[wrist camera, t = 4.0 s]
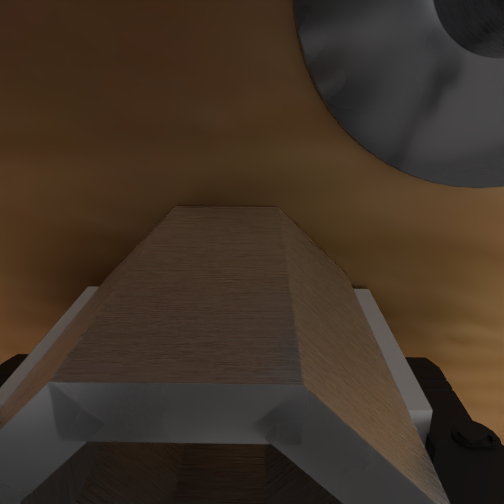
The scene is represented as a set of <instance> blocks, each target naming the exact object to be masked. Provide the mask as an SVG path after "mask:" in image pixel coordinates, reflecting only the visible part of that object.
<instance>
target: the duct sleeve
mask: <svg viewBox="0 0 504 504" xmlns="http://www.w3.org/2000/svg"><path fill="white" fill-rule="evenodd" d="M0 504H450V502H449V500H448V498H447V495H446V493H445V491H444V489H443V487H442V484H441V482H440V480H439V478H438V476H437V473H436V471H435V469H434V467H433V464H432V462H431V460H430V458H429V456H428V453H427V451H426V449H425V447H424V445H423V442H422V440H421V438H420V436H419V433H418V431H417V429H416V427H415V425H414V422H413V420H412V418H411V416H410V414H409V411H408V409H407V407H406V405H405V402H404V400H403V398H402V396H401V394H400V391H399V389H398V387H397V385H396V383H395V380H394V378H393V376H392V374H391V371H390V369H389V367H388V365H387V363H386V360H385V358H384V356H383V354H382V352H381V349H380V347H379V345H378V343H377V340H376V338H375V336H374V334H373V332H372V329H371V327H370V325H369V323H368V321H367V318H366V316H365V314H364V312H363V309H362V307H361V305H360V303H359V301H358V298H357V296H356V294H355V292H354V290H353V287H352V285H351V283H350V281H349V278H348V276H347V275H346V274H345V273H344V272H343V271H342V270H341V269H340V268H339V267H338V266H337V265H336V264H335V263H334V262H333V261H332V260H331V259H330V258H329V257H328V256H327V255H326V254H325V253H324V252H323V251H322V250H321V249H320V248H319V247H318V246H317V245H316V244H315V243H314V242H313V241H312V240H311V239H310V238H309V237H308V236H307V235H306V234H305V233H304V232H303V231H302V230H301V229H300V228H299V227H298V226H297V225H296V224H295V223H294V222H293V221H292V220H291V219H290V218H289V217H288V216H287V215H286V214H285V213H284V212H283V211H282V210H281V209H280V208H279V207H249V206H175V207H174V208H173V209H172V210H171V211H170V212H169V213H168V214H167V216H166V217H165V218H164V219H163V220H162V221H161V222H160V223H159V224H158V225H157V226H156V227H155V228H154V229H153V230H152V231H151V232H150V233H149V234H148V235H147V236H146V237H145V238H144V239H143V240H142V241H141V242H140V243H139V244H138V245H137V246H136V247H135V248H134V249H133V250H132V251H131V253H130V254H129V255H128V256H127V257H126V258H125V259H124V260H123V261H122V262H121V263H120V264H119V265H118V266H117V267H116V268H115V269H114V270H113V271H112V272H111V273H110V274H109V275H108V277H107V278H106V279H105V280H104V281H103V283H102V284H101V285H100V286H99V288H98V289H97V290H96V291H95V293H94V294H93V295H92V296H91V297H90V299H89V300H88V301H87V302H86V304H85V305H84V306H83V307H82V309H81V310H80V311H79V312H78V313H77V315H76V316H75V317H74V318H73V320H72V321H71V322H70V323H69V325H68V326H67V327H66V328H65V329H64V331H63V332H62V333H61V334H60V336H59V337H58V338H57V339H56V341H55V342H54V343H53V344H52V345H51V347H50V348H49V349H48V350H47V352H46V353H45V354H44V355H43V357H42V358H41V359H40V360H39V361H38V363H37V364H36V365H35V366H34V368H33V369H32V370H31V371H30V373H29V374H28V375H27V376H26V378H25V379H24V380H23V381H22V382H21V384H20V385H19V386H18V387H17V389H16V390H15V391H14V392H13V394H12V395H11V396H10V397H9V398H8V400H7V401H6V402H5V403H4V405H3V406H2V407H1V408H0Z"/></svg>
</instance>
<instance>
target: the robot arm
mask: <svg viewBox="0 0 504 504" xmlns="http://www.w3.org/2000/svg"><path fill="white" fill-rule="evenodd" d="M98 288H99V287H89V286H88V287H87V288H86V290H85V291H84V292H83V293H82V294H81V295H80V297H79V298H78V299H77V300H76V301H75V302H74V303H73V305H72V306H71V307H70V308H69V309H68V310H67V312H66V313H65V314H64V315H63V316H62V317H61V318H60V320H59V321H58V322H57V323H56V324H55V325H54V327H53V328H52V329H51V330H50V331H49V332H48V333H47V335H46V336H45V337H44V338H43V339H42V340H41V341H40V343H39V344H38V345H37V346H36V347H35V348H34V350H33V351H32V352H31V353H30V354H17V355H15V356H14V357H12V358H10V359H9V360H7V361H5V362H4V363H2V364H1V365H0V408H1V407H2V406H3V405H4V403H5V402H6V401H7V400H8V398H9V397H10V396H11V395H12V394H13V392H14V391H15V390H16V389H17V387H18V386H19V385H20V384H21V382H22V381H23V380H24V379H25V378H26V376H27V375H28V374H29V373H30V371H31V370H32V369H33V368H34V366H35V365H36V364H37V363H38V361H39V360H40V359H41V358H42V357H43V355H44V354H45V353H46V352H47V350H48V349H49V348H50V347H51V345H52V344H53V343H54V342H55V341H56V339H57V338H58V337H59V336H60V334H61V333H62V332H63V331H64V329H65V328H66V327H67V326H68V325H69V323H70V322H71V321H72V320H73V318H74V317H75V316H76V315H77V313H78V312H79V311H80V310H81V309H82V307H83V306H84V305H85V304H86V302H87V301H88V300H89V299H90V297H91V296H92V295H93V294H94V293H95V291H96V290H97V289H98ZM353 290H354V292H355V294H356V296H357V298H358V301H359V303H360V305H361V307H362V309H363V312H364V314H365V316H366V318H367V321H368V323H369V325H370V327H371V329H372V332H373V334H374V336H375V338H376V340H377V343H378V345H379V347H380V349H381V352H382V354H383V356H384V358H385V360H386V363H387V365H388V367H389V369H390V371H391V374H392V376H393V378H394V380H395V383H396V385H397V387H398V389H399V391H400V394H401V396H402V398H403V400H404V402H405V405H406V407H407V409H408V411H409V414H410V416H411V418H412V420H413V422H414V425H415V427H416V429H417V431H418V433H419V436H420V438H421V440H422V442H423V445H424V447H425V449H426V451H427V453H428V456H429V458H430V460H431V462H432V464H433V467H434V469H435V471H436V473H437V476H438V478H439V480H440V482H441V484H442V487H443V489H444V491H445V493H446V495H447V498H448V500H449V502H450V504H504V446H503V445H502V444H501V441H500V439H499V438H498V436H497V435H496V434H495V433H494V432H493V431H492V430H490V429H489V428H487V427H486V426H484V425H482V424H480V423H477V422H475V421H473V420H472V419H471V417H470V416H469V414H468V413H467V411H466V409H465V408H464V406H463V405H462V403H461V401H460V400H459V398H458V397H457V395H456V393H455V392H454V391H452V387H451V386H450V384H449V382H448V381H446V378H445V376H444V374H443V373H442V371H441V370H440V368H439V367H438V366H436V365H435V364H434V363H432V362H431V361H430V360H428V359H427V358H415V357H404V355H403V353H402V351H401V349H400V347H399V345H398V344H397V342H396V340H395V338H394V336H393V334H392V332H391V330H390V328H389V326H388V325H387V323H386V321H385V319H384V317H383V315H382V313H381V311H380V309H379V307H378V306H377V304H376V302H375V300H374V298H373V296H372V294H371V292H370V290H369V289H353Z"/></svg>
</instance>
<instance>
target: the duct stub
mask: <svg viewBox="0 0 504 504" xmlns="http://www.w3.org/2000/svg"><path fill="white" fill-rule="evenodd" d="M293 9H294V16H295V22H296V29H297V35H298V39H299V43H300V47H301V50H302V54H303V57H304V61H305V64H306V66H307V69H308V71H309V73H310V76H311V78H312V80H313V83H314V85H315V88H316V89H317V91H318V93H319V94H320V96H321V98H322V99H323V101H324V103H325V105H326V106H327V108H328V110H329V111H330V112H331V113H332V115H333V116H334V117H335V118H336V120H337V121H338V122H339V124H340V125H341V126H342V127H343V129H344V130H345V131H346V132H347V133H349V134H350V135H351V136H352V137H353V138H354V139H355V140H356V141H357V142H358V143H359V144H360V145H361V146H362V147H364V148H365V149H367V150H368V151H369V152H371V153H372V154H374V155H375V156H376V157H378V158H379V159H381V160H382V161H384V162H386V163H388V164H389V165H391V166H393V167H395V168H397V169H399V170H401V171H403V172H405V173H407V174H410V175H413V176H415V177H418V178H421V179H424V180H427V181H430V182H435V183H440V184H444V185H449V186H457V187H471V188H485V187H502V186H504V0H293Z"/></svg>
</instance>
